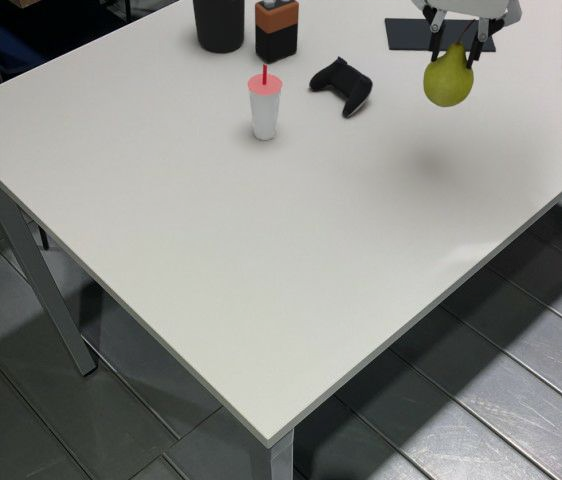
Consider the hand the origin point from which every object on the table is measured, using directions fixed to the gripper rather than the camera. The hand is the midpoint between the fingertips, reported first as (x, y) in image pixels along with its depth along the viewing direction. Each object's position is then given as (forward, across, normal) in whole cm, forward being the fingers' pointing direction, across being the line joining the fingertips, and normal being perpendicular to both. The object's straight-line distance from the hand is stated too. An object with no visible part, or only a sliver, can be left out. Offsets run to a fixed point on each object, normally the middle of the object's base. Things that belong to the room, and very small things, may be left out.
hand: (452, 58), depth 85 cm
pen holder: (+17, +44, -19) cm, 51 cm away
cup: (+17, +27, +3) cm, 32 cm away
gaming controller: (+17, +18, -11) cm, 27 cm away
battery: (+17, +33, -19) cm, 41 cm away
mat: (+17, +6, -36) cm, 40 cm away
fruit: (+7, 0, 0) cm, 7 cm away
